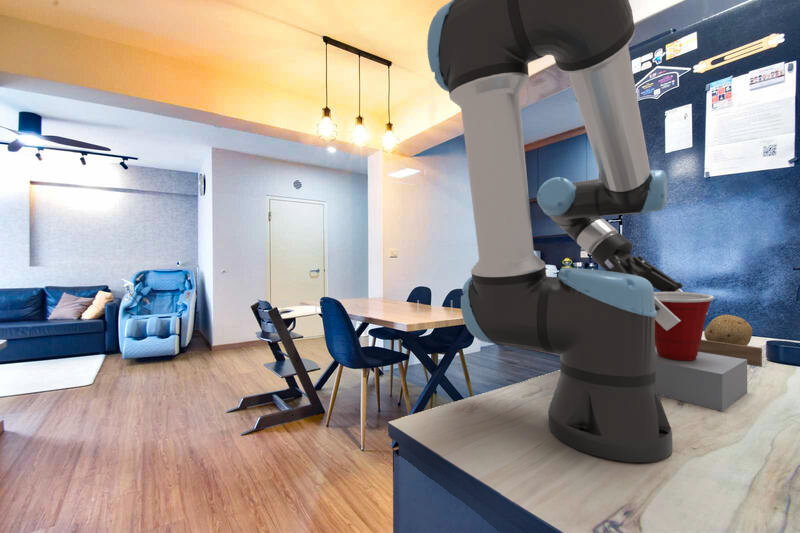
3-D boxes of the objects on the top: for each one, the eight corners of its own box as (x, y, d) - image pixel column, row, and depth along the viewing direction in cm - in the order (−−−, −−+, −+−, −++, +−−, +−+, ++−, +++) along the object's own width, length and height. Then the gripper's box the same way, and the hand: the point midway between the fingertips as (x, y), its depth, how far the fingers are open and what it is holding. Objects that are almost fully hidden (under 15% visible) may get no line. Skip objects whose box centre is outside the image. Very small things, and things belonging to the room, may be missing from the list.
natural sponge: (702, 353, 92) (702, 314, 92) (706, 347, 98) (706, 311, 98) (751, 360, 85) (751, 318, 85) (753, 353, 92) (753, 314, 91)
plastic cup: (635, 357, 68) (635, 293, 68) (647, 348, 75) (647, 290, 75) (712, 368, 60) (711, 296, 60) (716, 356, 68) (716, 293, 68)
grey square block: (722, 411, 58) (722, 374, 58) (627, 386, 69) (627, 355, 69) (747, 392, 66) (747, 359, 66) (658, 373, 77) (658, 345, 77)
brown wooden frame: (731, 386, 69) (731, 349, 69) (643, 367, 81) (642, 336, 81) (762, 365, 82) (762, 334, 81) (681, 352, 94) (681, 325, 94)
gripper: (619, 256, 89) (695, 326, 76) (560, 257, 75) (642, 342, 62) (643, 233, 84) (728, 303, 72) (586, 229, 70) (678, 315, 58)
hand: (688, 321), depth 67 cm, fingers open, 13 cm apart
